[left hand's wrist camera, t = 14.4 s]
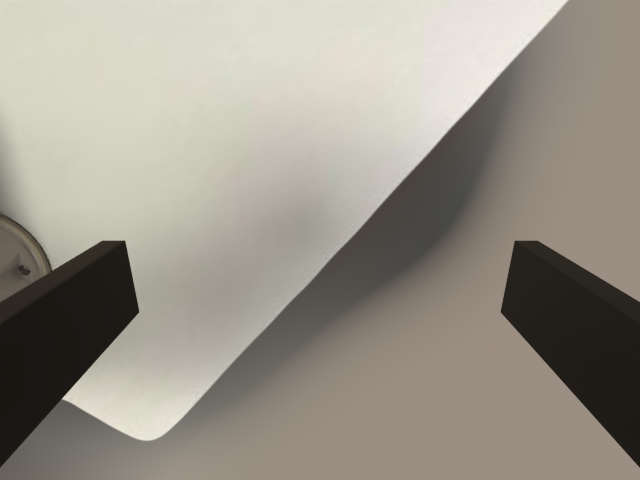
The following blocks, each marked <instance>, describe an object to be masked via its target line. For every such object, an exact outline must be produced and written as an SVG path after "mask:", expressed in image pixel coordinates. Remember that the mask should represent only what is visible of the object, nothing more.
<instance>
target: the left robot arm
mask: <svg viewBox="0 0 640 480" xmlns="http://www.w3.org/2000/svg"><path fill="white" fill-rule="evenodd" d="M138 313H139V308H138V303H137V298H136V293H135V288H134V283H133V278H132V273H131V268H130V263H129V258H128V253H127V248H126V243H125V241H101V242H100V243H98V244H96V245H95V246H93V247H91V248H90V249H88V250H86V251H85V252H83V253H81V254H80V255H78V256H76V257H75V258H73V259H71V260H70V261H68V262H66V263H65V264H63V265H61V266H60V267H58V268H56V269H55V270H53V271H50V267H49V264H48V261H47V259H46V257H45V255H44V253H43V251H42V250H41V248H40V247H39V245H38V244H37V243H36V241H35V240H34V239H33V238H32V237H31V236H30V235H29V234H28V233H27V232H26V231H25V230H24V229H23V228H21V227H20V226H19V225H17V224H16V223H14V222H13V221H11V220H10V219H8V218H6V217H4V216H2V215H0V467H1V466H2V465H3V464H4V463H5V462H6V461H7V459H8V458H9V457H10V456H11V455H12V454H13V453H14V452H15V450H16V449H17V448H18V447H19V446H20V445H21V444H22V443H23V442H24V440H25V439H26V438H27V437H28V436H29V435H30V434H31V433H32V431H33V430H34V429H35V428H36V427H37V426H38V425H39V424H40V423H41V421H42V420H43V419H44V418H45V417H46V416H47V415H48V414H49V412H50V411H51V410H52V409H53V408H54V407H55V406H56V405H57V403H58V402H59V401H60V400H61V399H62V398H63V397H64V396H65V395H66V393H67V392H68V391H69V390H70V389H71V388H72V387H73V386H74V385H75V383H76V382H77V381H78V380H79V379H80V378H81V377H82V376H83V374H84V373H85V372H86V371H87V370H88V369H89V368H90V367H91V366H92V364H93V363H94V362H95V361H96V360H97V359H98V358H99V357H100V355H101V354H102V353H103V352H104V351H105V350H106V349H107V348H108V347H109V345H110V344H111V343H112V342H113V341H114V340H115V339H116V338H117V336H118V335H119V334H120V333H121V332H122V331H123V330H124V329H125V328H126V326H127V325H128V324H129V323H130V322H131V321H132V320H133V319H134V317H135V316H136V315H137V314H138ZM501 313H502V314H503V315H504V316H505V317H506V319H507V320H508V321H509V322H510V323H511V324H512V325H513V326H514V327H515V329H516V330H517V331H518V332H519V333H520V334H521V335H522V336H523V338H524V339H525V340H526V341H527V342H528V343H529V344H530V345H531V347H532V348H533V349H534V350H535V351H536V352H537V353H538V354H539V355H540V357H541V358H542V359H543V360H544V361H545V362H546V363H547V364H548V366H549V367H550V368H551V369H552V370H553V371H554V372H555V373H556V374H557V376H558V377H559V378H560V379H561V380H562V381H563V382H564V383H565V385H566V386H567V387H568V388H569V389H570V390H571V391H572V392H573V393H574V395H575V396H576V397H577V398H578V399H579V400H580V401H581V402H582V403H583V405H584V406H585V407H586V408H587V409H588V410H589V411H590V412H591V414H592V415H593V416H594V417H595V418H596V419H597V420H598V421H599V423H600V424H601V425H602V426H603V427H604V428H605V429H606V430H607V431H608V433H609V434H610V435H611V436H612V437H613V438H614V439H615V440H616V442H617V443H618V444H619V445H620V446H621V447H622V448H623V449H624V450H625V452H626V453H627V454H628V455H629V456H630V457H631V458H632V459H633V461H634V462H635V463H636V464H637V465H638V466H639V467H640V302H639V301H637V300H635V299H634V298H632V297H630V296H629V295H627V294H625V293H624V292H622V291H620V290H619V289H617V288H615V287H614V286H612V285H610V284H609V283H607V282H605V281H604V280H602V279H600V278H599V277H597V276H595V275H594V274H592V273H590V272H589V271H587V270H585V269H584V268H582V267H580V266H579V265H577V264H575V263H574V262H572V261H570V260H569V259H567V258H565V257H564V256H562V255H560V254H559V253H557V252H555V251H554V250H552V249H550V248H549V247H547V246H545V245H544V244H542V243H540V242H539V241H515V243H514V248H513V253H512V258H511V263H510V268H509V273H508V278H507V283H506V288H505V293H504V298H503V303H502V308H501Z"/></svg>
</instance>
